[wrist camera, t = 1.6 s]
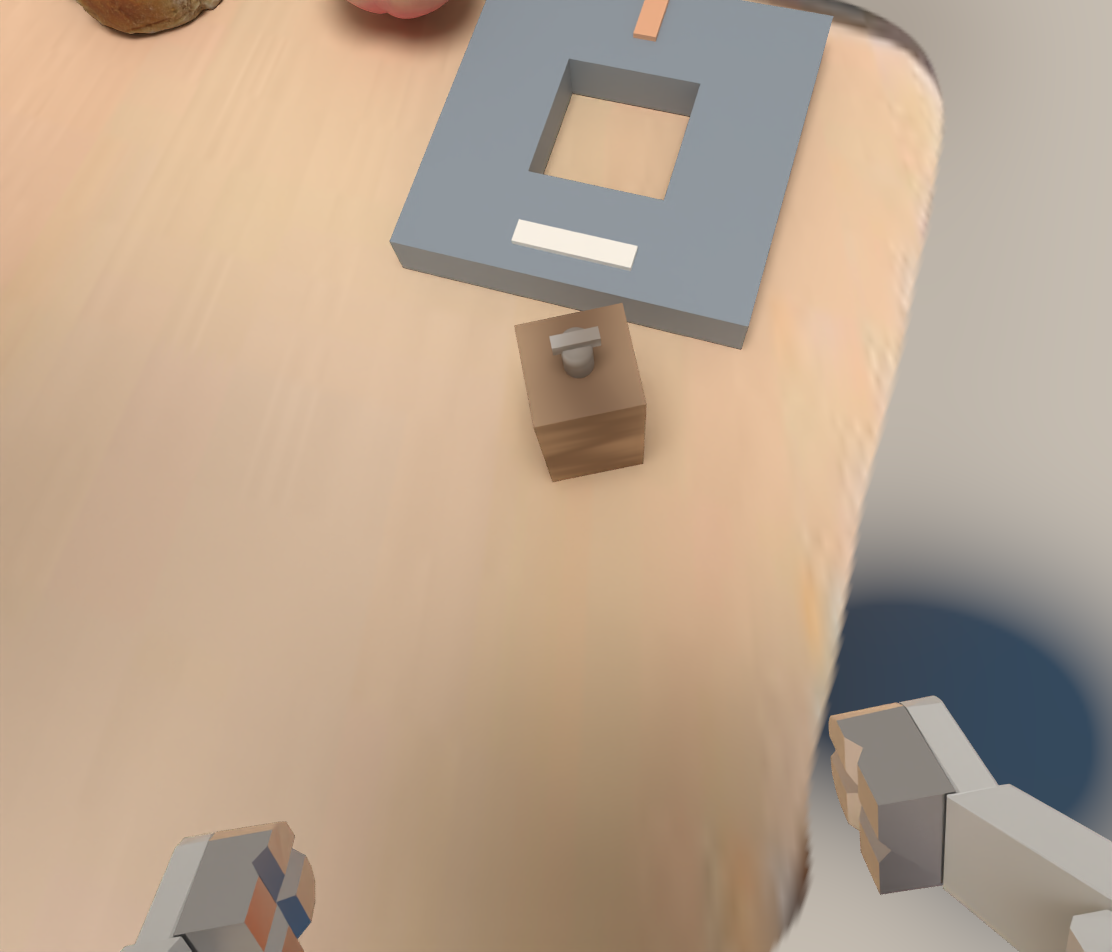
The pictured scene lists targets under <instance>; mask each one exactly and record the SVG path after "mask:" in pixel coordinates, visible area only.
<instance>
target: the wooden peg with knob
mask: <svg viewBox="0 0 1112 952" xmlns="http://www.w3.org/2000/svg"><path fill="white" fill-rule="evenodd" d="M514 327H515V332H516V337H517V342H518V348H519V353H520V358H521V363H522V369H523V374H524V379H525V384H526V389H527V395H528V400H529V405H530V410H531V416H532V421H533V426H534V430H535V433H536V435H537V438H538V441H539V444H540V447H541V450H542V453H543V456H544V458H545V461H546V464H547V467H548V470H549V473H550V476H551V479H552V481H553V482H556V481H561V480H565V479H570V478H575V477H580V476H585V475H590V474H595V473H599V472H604V471H609V470H614V469H619V468H624V467H629V466H633V465H638V464H643V455H644V437H645V420H646V400H645V396H644V392H643V388H642V383H641V379H640V375H639V371H638V366H637V362H636V358H635V354H634V349H633V345H632V341H631V337H630V332H629V328H628V324H627V320H626V315H625V311H624V307H623V303H619V304H614V305H609V306H604V307H600V308H595V309H590V310H586V311H581V312H576V313H571V314H567V315H562V316H557V317H553V318H548V319H543V320H538V321H534V322H529V323H524V324H520V325H515V326H514Z"/></svg>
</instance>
